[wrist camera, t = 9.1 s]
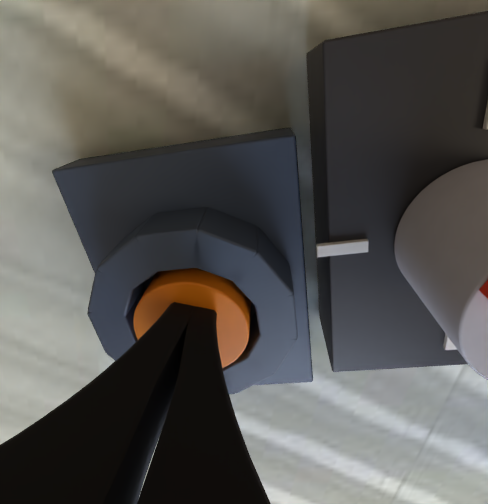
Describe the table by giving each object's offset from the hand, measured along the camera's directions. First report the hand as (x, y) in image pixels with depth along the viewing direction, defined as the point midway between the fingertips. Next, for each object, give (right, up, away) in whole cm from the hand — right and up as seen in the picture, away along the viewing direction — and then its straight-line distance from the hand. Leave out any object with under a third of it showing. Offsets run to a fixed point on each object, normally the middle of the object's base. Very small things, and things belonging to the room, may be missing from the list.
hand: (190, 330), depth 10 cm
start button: (0, +1, +2) cm, 2 cm away
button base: (0, +2, +3) cm, 4 cm away
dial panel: (+8, +4, +1) cm, 9 cm away
